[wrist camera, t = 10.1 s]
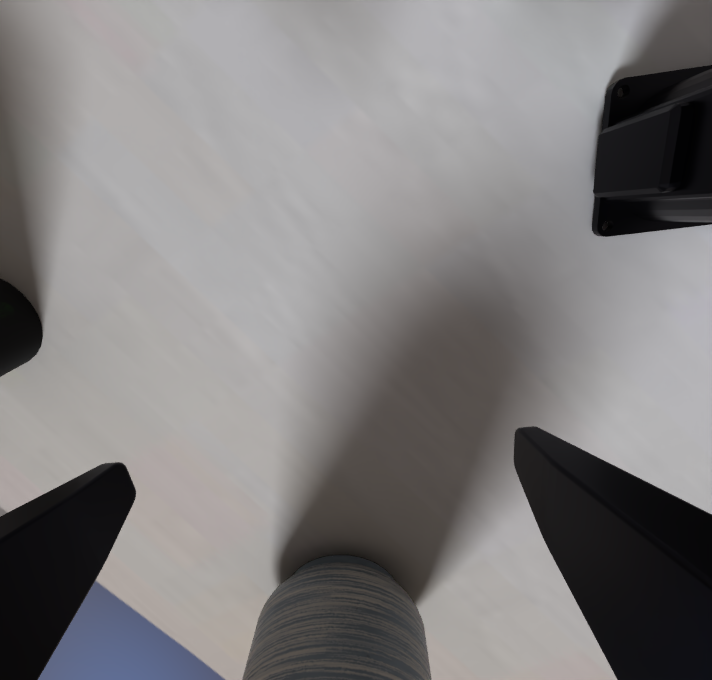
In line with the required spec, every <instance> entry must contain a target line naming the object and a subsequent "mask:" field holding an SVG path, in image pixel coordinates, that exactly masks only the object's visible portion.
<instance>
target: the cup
mask: <svg viewBox="0 0 712 680" xmlns="http://www.w3.org/2000/svg"><path fill="white" fill-rule="evenodd" d="M41 342H42V327H41V323H40V320H39V318H38V315H37V313H36V311H35V310H34V308H33V306H32V305H31V303H30V302H29V301H28V300H27V299H26V297H25V296H24V295H23V294H22V293H21V292H20V291H18V290H17V289H16V288H15V287H13V286H12V285H11V284H9V283H7V282H6V281H4V280H2V279H0V377H1V376H2V375H4V374H6V373H8V372H10V371H11V370H13V369H15V368H17V367H19V366H20V365H22V364H24V363H26V362H28V361H29V360H31V359H32V358H33V357H34V356H35V355H36V354H37V352H38V350H39V348H40V347H41Z"/></svg>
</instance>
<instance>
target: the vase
mask: <svg viewBox="0 0 712 680" xmlns="http://www.w3.org/2000/svg"><path fill="white" fill-rule="evenodd" d="M242 680H431V673H430V666H429V659H428V652H427V645H426V638H425V631H424V624H423V621H422V618H421V616H420V614H419V611H418V609H417V607H416V605H415V604H414V602H413V601H412V599H411V598H410V596H409V595H408V594H407V592H406V591H405V590H404V589H403V588H402V587H401V586H400V585H399V584H398V583H397V582H396V581H395V580H394V579H393V577H392V576H391V575H390V574H389V573H388V572H387V571H386V570H385V569H384V568H382V567H381V566H379V565H378V564H376V563H374V562H371V561H369V560H367V559H363V558H360V557H355V556H349V555H333V556H326V557H321V558H318V559H315V560H313V561H310V562H308V563H307V564H305V565H303V566H302V567H301V568H299V569H298V570H297V571H296V572H295V573H294V574H293V575H292V576H291V577H289V578H288V579H287V580H285V581H284V582H283V583H282V584H281V585H280V586H279V587H277V589H276V590H275V591H274V592H273V593H272V595H271V596H270V597H269V599H268V600H267V602H266V603H265V605H264V607H263V609H262V612H261V614H260V616H259V619H258V622H257V626H256V630H255V634H254V638H253V641H252V645H251V649H250V653H249V657H248V660H247V664H246V668H245V672H244V675H243V679H242Z"/></svg>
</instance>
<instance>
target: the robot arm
mask: <svg viewBox="0 0 712 680" xmlns="http://www.w3.org/2000/svg"><path fill="white" fill-rule="evenodd" d="M619 88H621V89H622V90H623V97H622V98H619V97H618V94H617V92H618V89H619ZM593 193H594V194H595V203H594V213H593V223H592V231H593V233H594V234H595V235H597V236H605V237H608V236H617V235H625V234H633V233H642V232H650V231H659V230H667V229H676V228H684V227H693V226H701V225H710V224H712V65H710V66H703V67H696V68H689V69H682V70H676V71H669V72H662V73H655V74H648V75H641V76H634V77H628V78H623V79H621V80H619V81H617V82H615V83H613V84H612V85H611V86H610V87H609V89H608V90H607V93H606V96H605V106H604V116H603V125H602V133H601V134H600V135H599V139H598V149H597V159H596V169H595V179H594V189H593ZM606 221H607V222H608V227H607V228H606V229H605V230H603V228H602V226H603V224H604V223H605V222H606ZM514 465H515V469H516V472H517V475H518V477H519V479H520V482H521V484H522V487H523V489H524V492H525V494H526V497H527V499H528V502H529V504H530V507H531V509H532V512H533V514H534V517H535V519H536V522H537V524H538V527H539V529H540V531H541V534H542V536H543V538H544V541H545V543H546V545H547V547H548V549H549V551H550V553H551V554H552V556H553V558H554V560H555V562H556V564H557V566H558V568H559V570H560V571H561V573H562V575H563V577H564V579H565V581H566V583H567V585H568V587H569V589H570V590H571V592H572V594H573V596H574V598H575V600H576V602H577V604H578V606H579V607H580V609H581V611H582V613H583V615H584V617H585V619H586V621H587V623H588V625H589V626H590V628H591V630H592V632H593V634H594V636H595V638H596V640H597V642H598V643H599V645H600V647H601V649H602V651H603V653H604V655H605V657H606V659H607V661H608V662H609V664H610V666H611V668H612V670H613V672H614V674H615V676H616V678H617V680H712V514H710V513H708V512H706V511H704V510H702V509H700V508H698V507H696V506H694V505H692V504H690V503H688V502H686V501H684V500H682V499H680V498H678V497H676V496H674V495H672V494H670V493H668V492H666V491H664V490H662V489H660V488H658V487H656V486H654V485H652V484H650V483H648V482H646V481H644V480H642V479H640V478H638V477H636V476H634V475H632V474H630V473H628V472H626V471H624V470H622V469H620V468H618V467H616V466H614V465H612V464H610V463H608V462H606V461H604V460H602V459H600V458H598V457H596V456H594V455H592V454H590V453H588V452H586V451H584V450H582V449H580V448H578V447H576V446H574V445H572V444H570V443H568V442H566V441H564V440H562V439H560V438H558V437H556V436H554V435H552V434H550V433H548V432H546V431H544V430H542V429H540V428H538V427H523V428H518V429H517V430H516V431H515V439H514ZM135 497H136V490H135V487H134V484H133V482H132V480H131V477H130V475H129V472H128V470H127V468H126V466H125V465H124V464H123V463H120V462H116V463H105V464H102V465H99V466H97V467H96V468H94V469H92V470H90V471H88V472H86V473H84V474H82V475H80V476H78V477H76V478H74V479H72V480H70V481H68V482H66V483H65V484H63V485H61V486H59V487H57V488H55V489H53V490H51V491H49V492H47V493H45V494H43V495H41V496H39V497H37V498H36V499H34V500H32V501H30V502H28V503H26V504H24V505H22V506H20V507H18V508H16V509H14V510H12V511H10V512H8V513H6V514H5V515H3V516H1V517H0V680H38V678H39V677H40V675H41V673H42V671H43V670H44V668H45V666H46V664H47V663H48V661H49V659H50V657H51V656H52V654H53V652H54V651H55V649H56V647H57V646H58V644H59V642H60V640H61V639H62V637H63V635H64V633H65V631H66V630H67V628H68V626H69V625H70V623H71V621H72V620H73V618H74V616H75V614H76V613H77V611H78V609H79V608H80V606H81V604H82V602H83V600H84V599H85V597H86V595H87V594H88V592H89V590H90V588H91V587H92V585H93V583H94V582H95V580H96V578H97V576H98V575H99V573H100V571H101V569H102V567H103V565H104V563H105V561H106V559H107V557H108V555H109V553H110V551H111V549H112V547H113V545H114V543H115V541H116V538H117V536H118V534H119V532H120V530H121V528H122V526H123V524H124V522H125V520H126V518H127V515H128V513H129V511H130V509H131V507H132V505H133V503H134V500H135Z"/></svg>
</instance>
